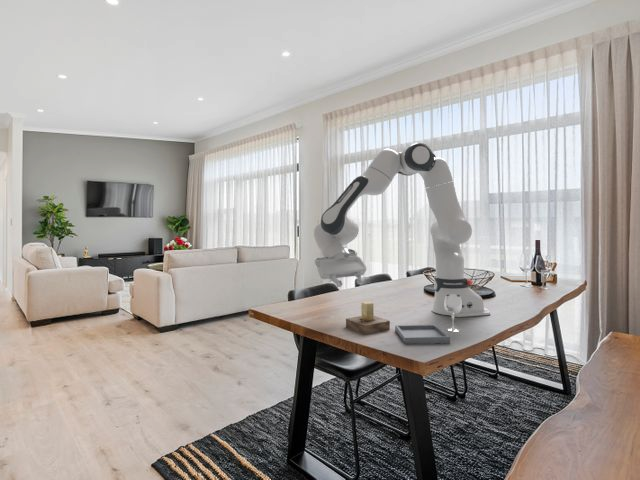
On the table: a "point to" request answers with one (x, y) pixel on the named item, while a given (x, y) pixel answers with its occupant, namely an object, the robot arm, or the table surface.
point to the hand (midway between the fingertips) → (350, 284)
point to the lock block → (367, 325)
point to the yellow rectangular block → (367, 311)
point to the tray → (421, 334)
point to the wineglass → (453, 308)
